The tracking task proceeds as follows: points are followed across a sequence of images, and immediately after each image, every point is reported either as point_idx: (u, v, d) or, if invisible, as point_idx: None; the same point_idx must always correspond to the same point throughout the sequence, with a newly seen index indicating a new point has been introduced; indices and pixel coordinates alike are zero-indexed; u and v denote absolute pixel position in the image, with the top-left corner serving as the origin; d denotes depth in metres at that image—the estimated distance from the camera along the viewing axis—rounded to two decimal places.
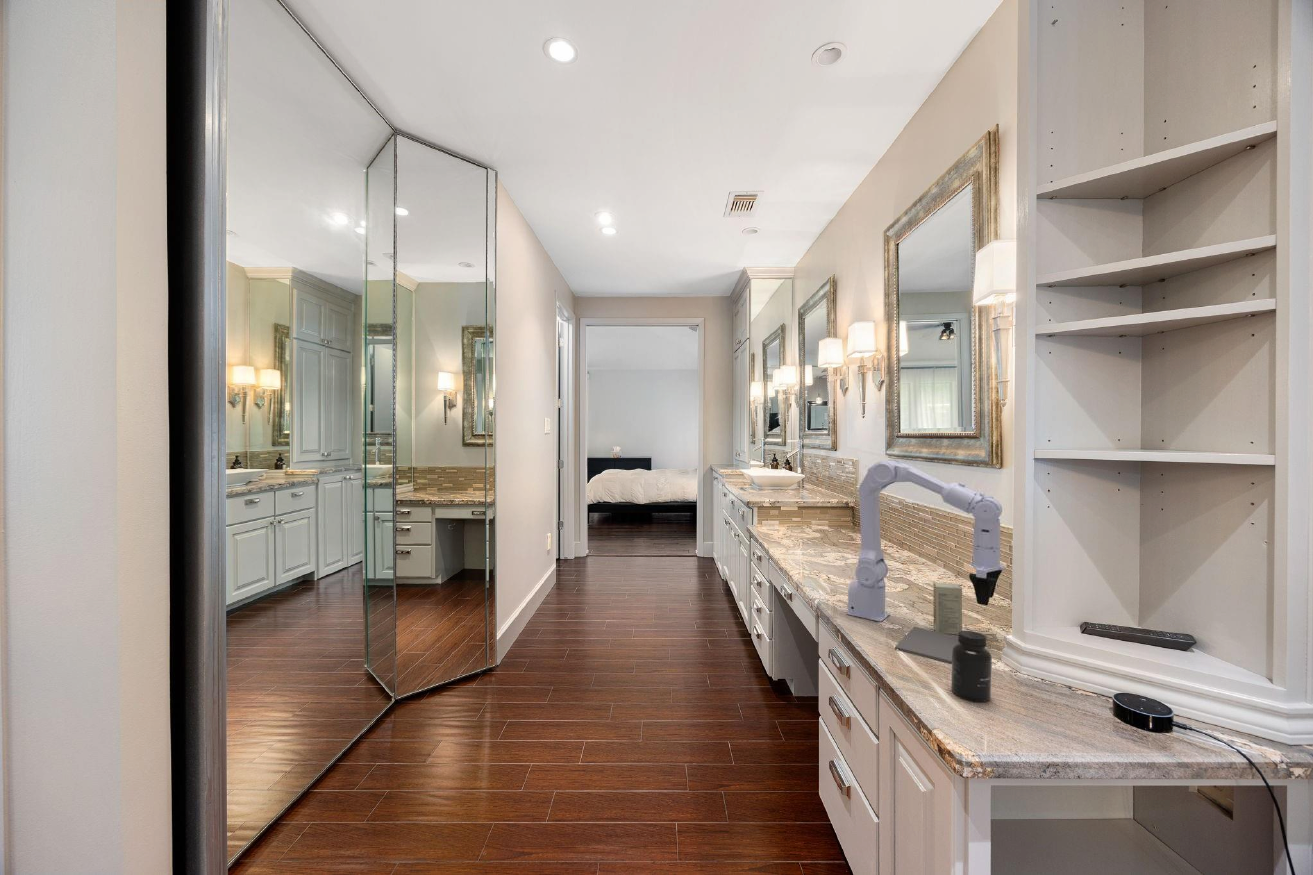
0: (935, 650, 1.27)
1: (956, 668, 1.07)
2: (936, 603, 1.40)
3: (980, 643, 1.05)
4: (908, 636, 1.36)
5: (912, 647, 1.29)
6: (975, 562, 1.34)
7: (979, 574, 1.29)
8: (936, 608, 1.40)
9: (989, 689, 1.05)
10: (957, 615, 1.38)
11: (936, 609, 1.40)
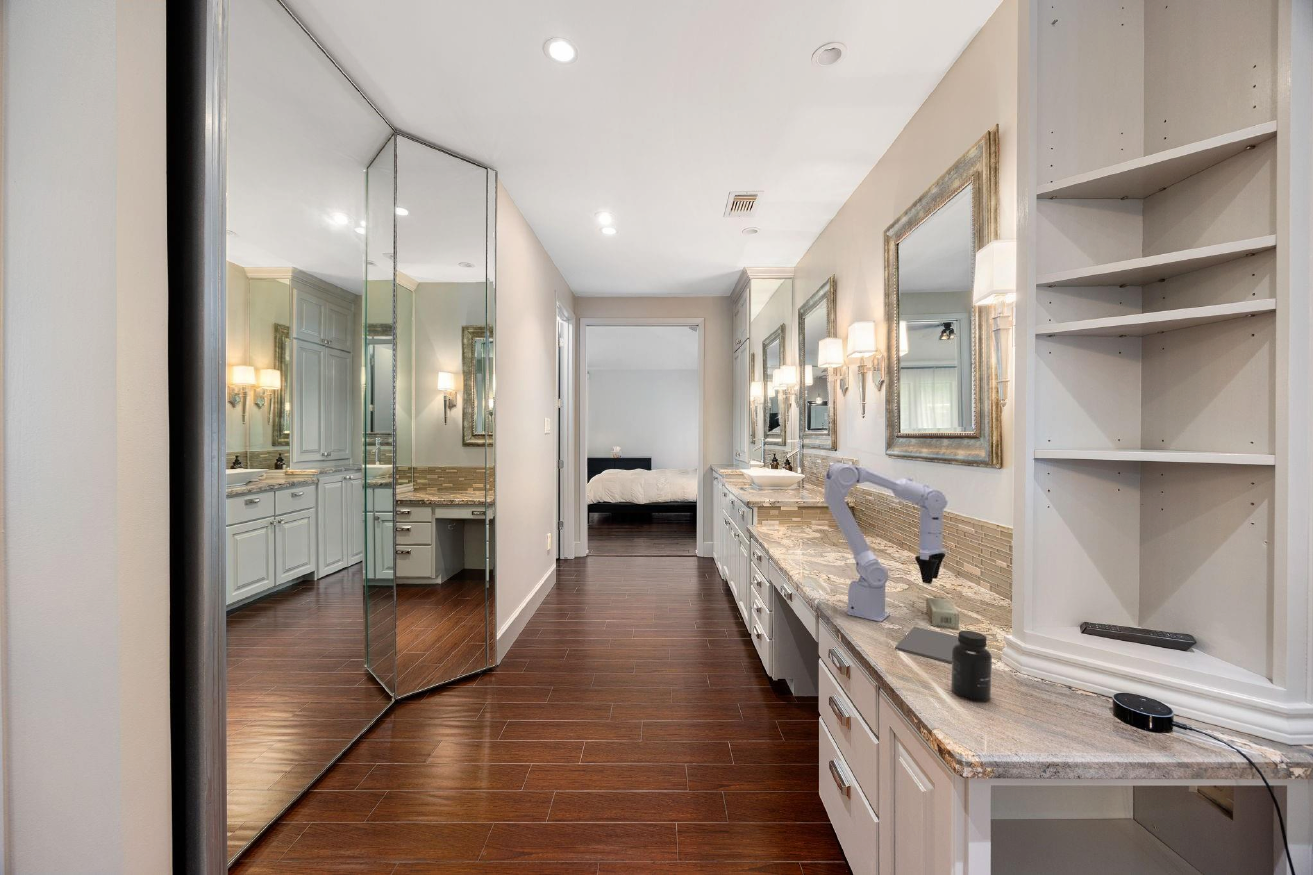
0: (935, 650, 1.27)
1: (956, 668, 1.07)
2: (929, 602, 1.51)
3: (980, 643, 1.05)
4: (908, 636, 1.36)
5: (912, 647, 1.29)
6: (921, 546, 1.50)
7: (922, 556, 1.45)
8: (930, 603, 1.50)
9: (989, 689, 1.05)
10: (950, 606, 1.47)
11: (930, 604, 1.50)
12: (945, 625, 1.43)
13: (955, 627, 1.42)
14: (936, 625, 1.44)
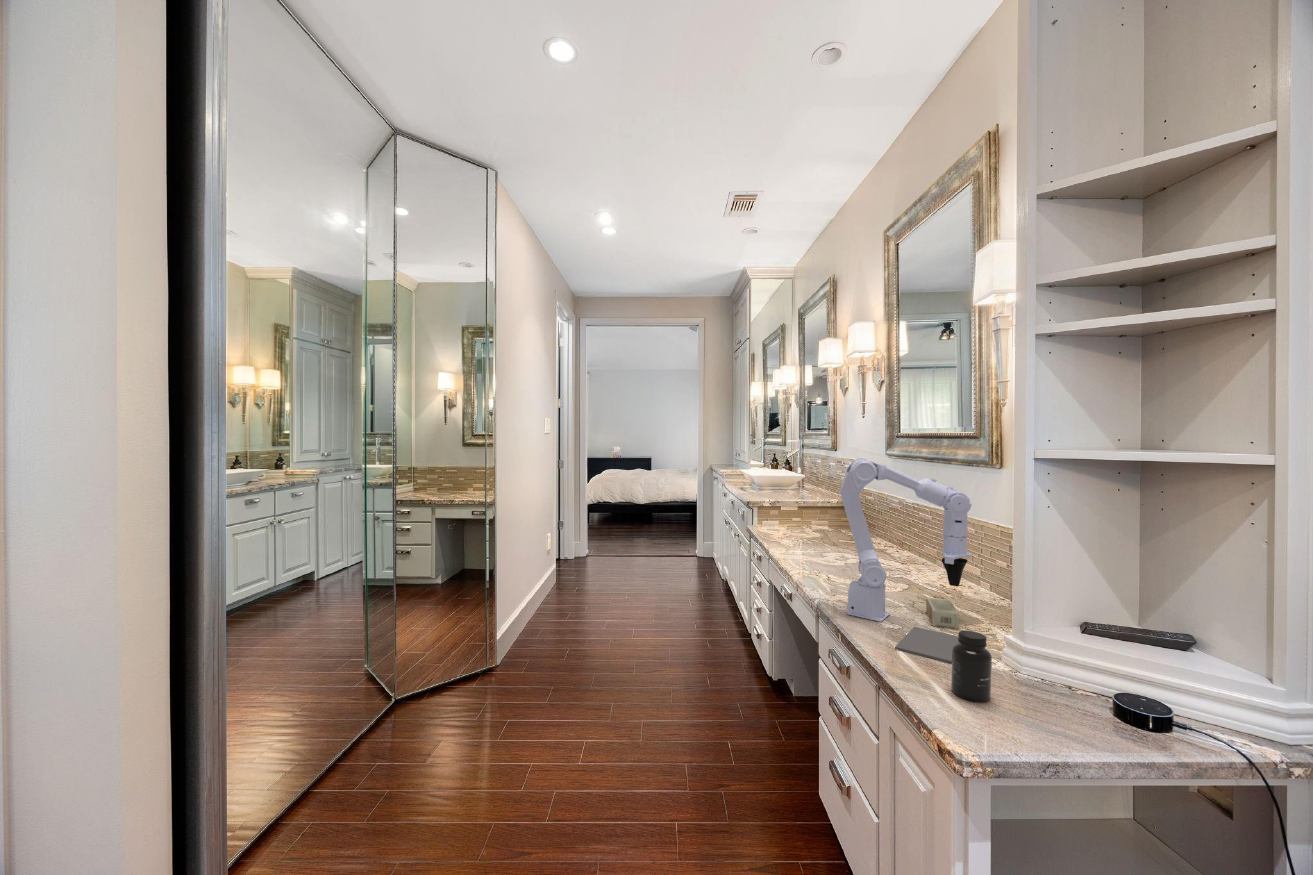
0: (935, 650, 1.27)
1: (956, 668, 1.07)
2: (929, 602, 1.51)
3: (980, 643, 1.05)
4: (908, 636, 1.36)
5: (912, 647, 1.29)
6: (945, 550, 1.46)
7: (947, 560, 1.41)
8: (930, 603, 1.50)
9: (989, 689, 1.05)
10: (950, 606, 1.47)
11: (930, 604, 1.50)
12: (945, 625, 1.43)
13: (955, 627, 1.42)
14: (936, 625, 1.44)
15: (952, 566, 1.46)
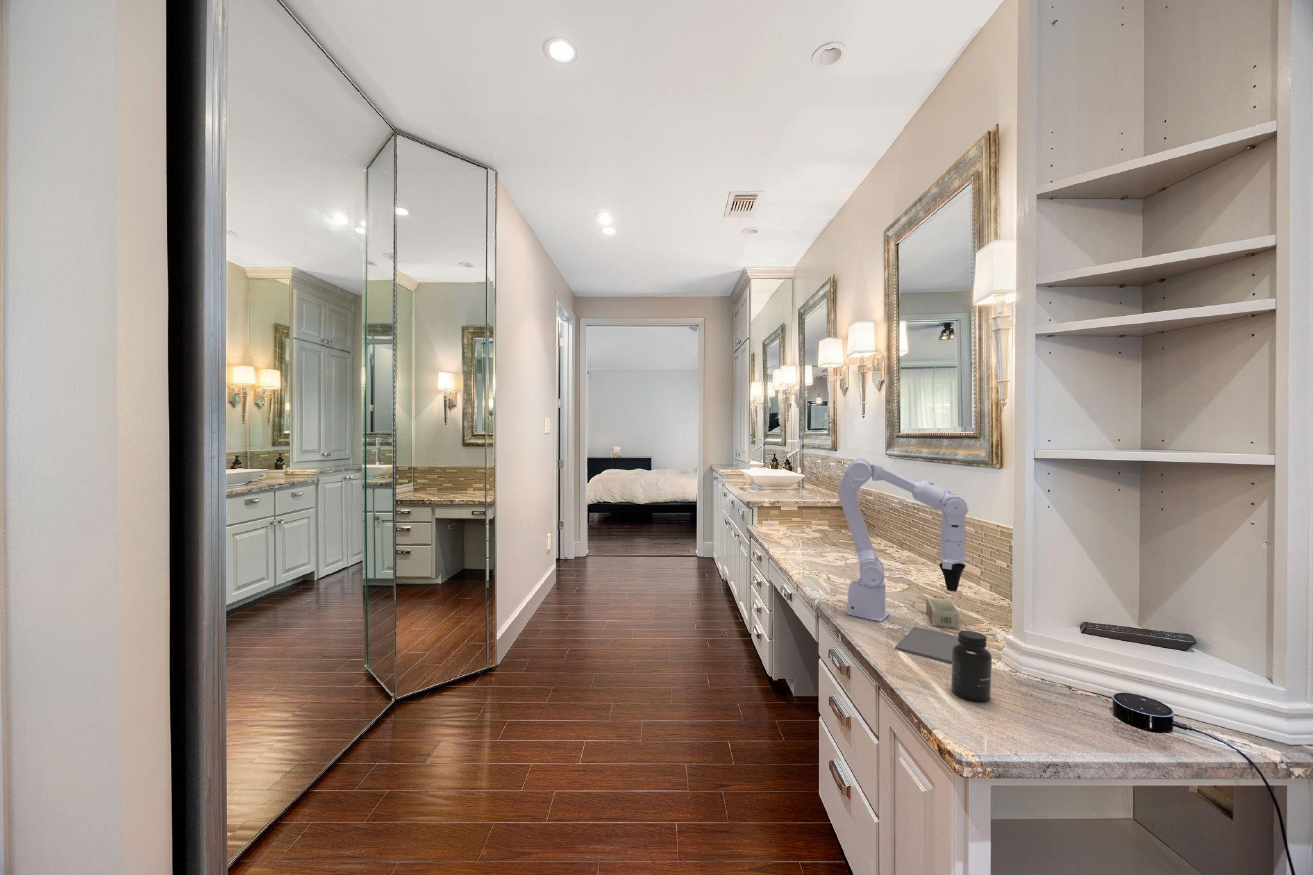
0: (935, 650, 1.27)
1: (956, 668, 1.07)
2: (929, 602, 1.51)
3: (980, 643, 1.05)
4: (908, 636, 1.36)
5: (912, 647, 1.29)
6: (942, 555, 1.44)
7: (945, 566, 1.39)
8: (930, 603, 1.50)
9: (989, 689, 1.05)
10: (950, 606, 1.47)
11: (930, 604, 1.50)
12: (945, 625, 1.43)
13: (955, 627, 1.42)
14: (936, 625, 1.44)
15: (950, 571, 1.44)
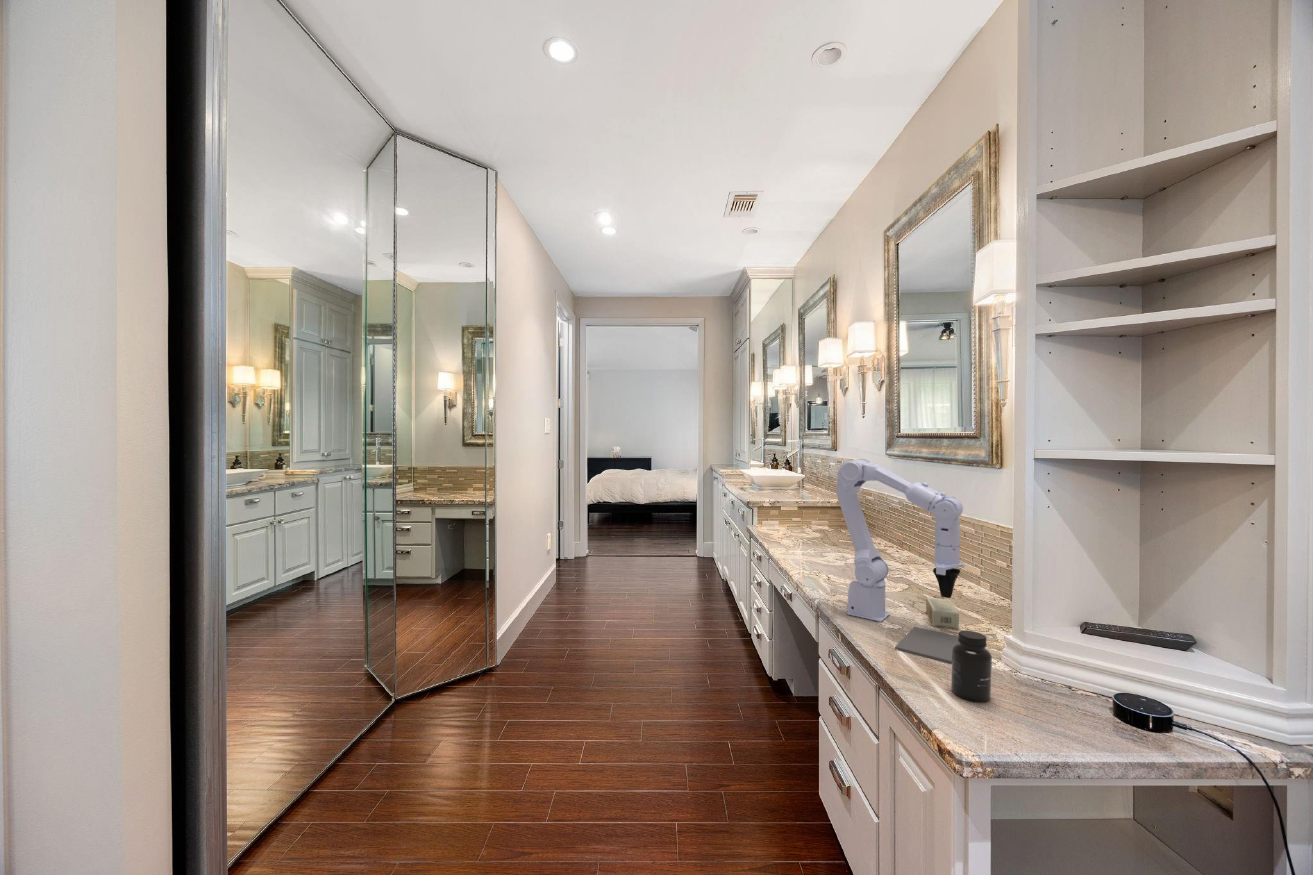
0: (935, 650, 1.27)
1: (956, 668, 1.07)
2: (929, 602, 1.51)
3: (980, 643, 1.05)
4: (908, 636, 1.36)
5: (912, 647, 1.29)
6: (936, 560, 1.39)
7: (939, 571, 1.34)
8: (930, 603, 1.50)
9: (989, 689, 1.05)
10: (950, 606, 1.47)
11: (930, 604, 1.50)
12: (945, 625, 1.43)
13: (955, 627, 1.42)
14: (936, 625, 1.44)
15: (944, 577, 1.39)
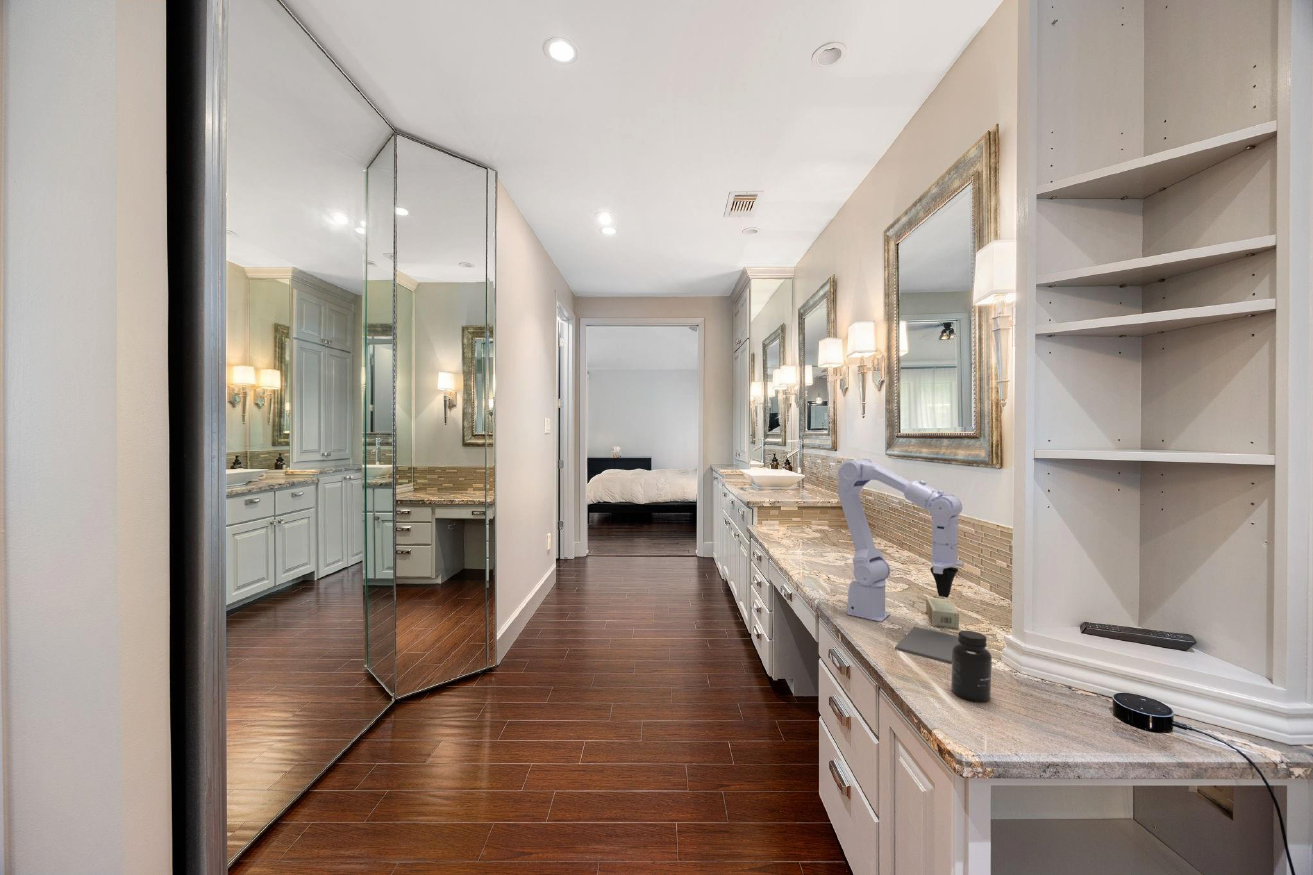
0: (935, 650, 1.27)
1: (956, 668, 1.07)
2: (929, 602, 1.51)
3: (980, 643, 1.05)
4: (908, 636, 1.36)
5: (912, 647, 1.29)
6: (933, 558, 1.37)
7: (936, 570, 1.32)
8: (930, 603, 1.50)
9: (989, 689, 1.05)
10: (950, 606, 1.47)
11: (930, 604, 1.50)
12: (945, 625, 1.43)
13: (955, 627, 1.42)
14: (936, 625, 1.44)
15: (941, 576, 1.37)
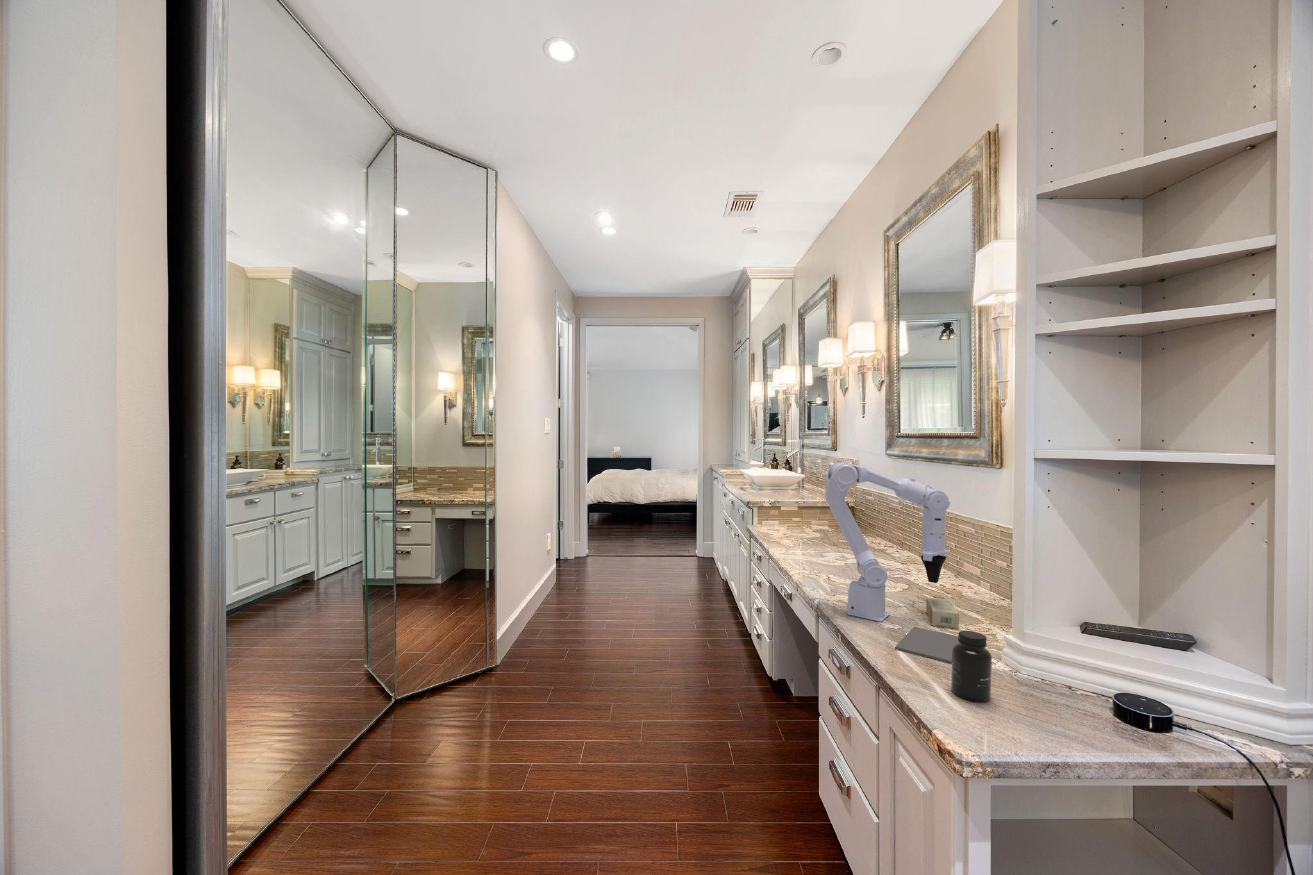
0: (935, 650, 1.27)
1: (956, 668, 1.07)
2: (929, 602, 1.51)
3: (980, 643, 1.05)
4: (908, 636, 1.36)
5: (912, 647, 1.29)
6: (924, 547, 1.49)
7: (925, 557, 1.44)
8: (930, 603, 1.50)
9: (989, 689, 1.05)
10: (950, 606, 1.47)
11: (930, 604, 1.50)
12: (945, 625, 1.43)
13: (955, 627, 1.42)
14: (936, 625, 1.44)
15: (931, 563, 1.49)
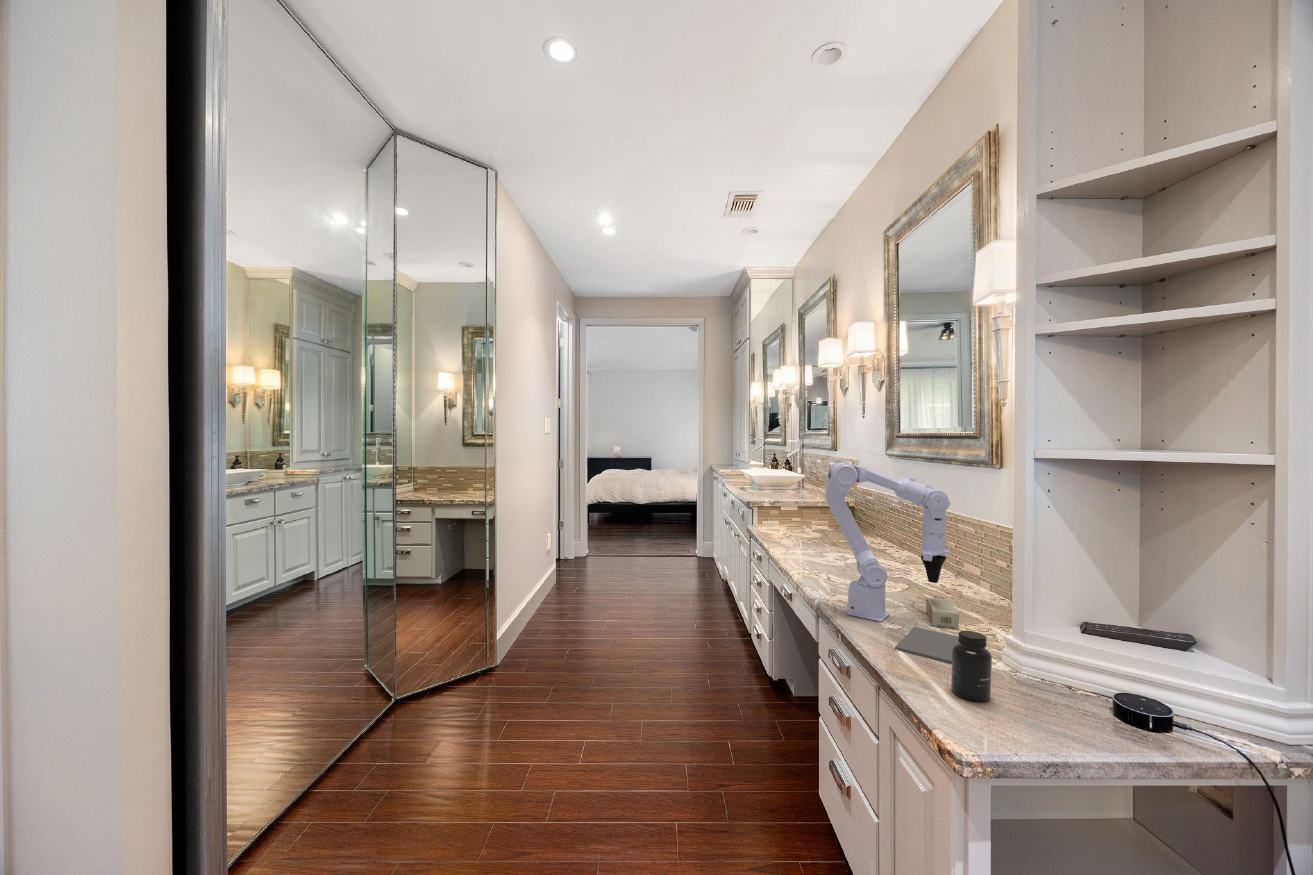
0: (935, 650, 1.27)
1: (956, 668, 1.07)
2: (929, 602, 1.51)
3: (980, 643, 1.05)
4: (908, 636, 1.36)
5: (912, 647, 1.29)
6: (924, 547, 1.49)
7: (925, 557, 1.44)
8: (930, 603, 1.50)
9: (989, 689, 1.05)
10: (950, 606, 1.47)
11: (930, 604, 1.50)
12: (945, 625, 1.43)
13: (955, 627, 1.42)
14: (936, 625, 1.44)
15: (931, 563, 1.49)
